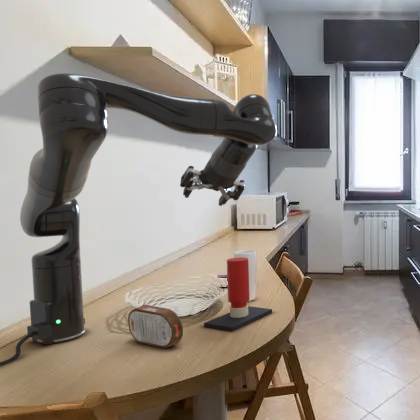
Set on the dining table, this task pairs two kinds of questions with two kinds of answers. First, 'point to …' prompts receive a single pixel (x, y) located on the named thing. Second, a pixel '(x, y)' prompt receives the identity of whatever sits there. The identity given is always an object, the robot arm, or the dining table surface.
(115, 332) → the dining table surface
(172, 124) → the robot arm
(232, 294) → the squeeze bottle
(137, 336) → the tin
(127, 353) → the dining table surface
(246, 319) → the rubber mat
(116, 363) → the dining table surface
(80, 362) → the dining table surface
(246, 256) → the drinking glass
